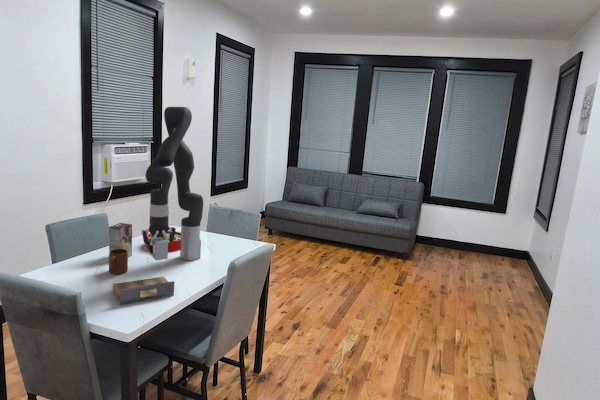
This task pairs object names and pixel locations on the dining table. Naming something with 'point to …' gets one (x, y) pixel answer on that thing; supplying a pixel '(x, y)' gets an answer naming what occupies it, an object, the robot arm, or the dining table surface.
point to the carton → (160, 249)
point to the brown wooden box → (143, 290)
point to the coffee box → (121, 237)
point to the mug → (118, 261)
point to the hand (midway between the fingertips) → (158, 251)
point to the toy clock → (173, 244)
